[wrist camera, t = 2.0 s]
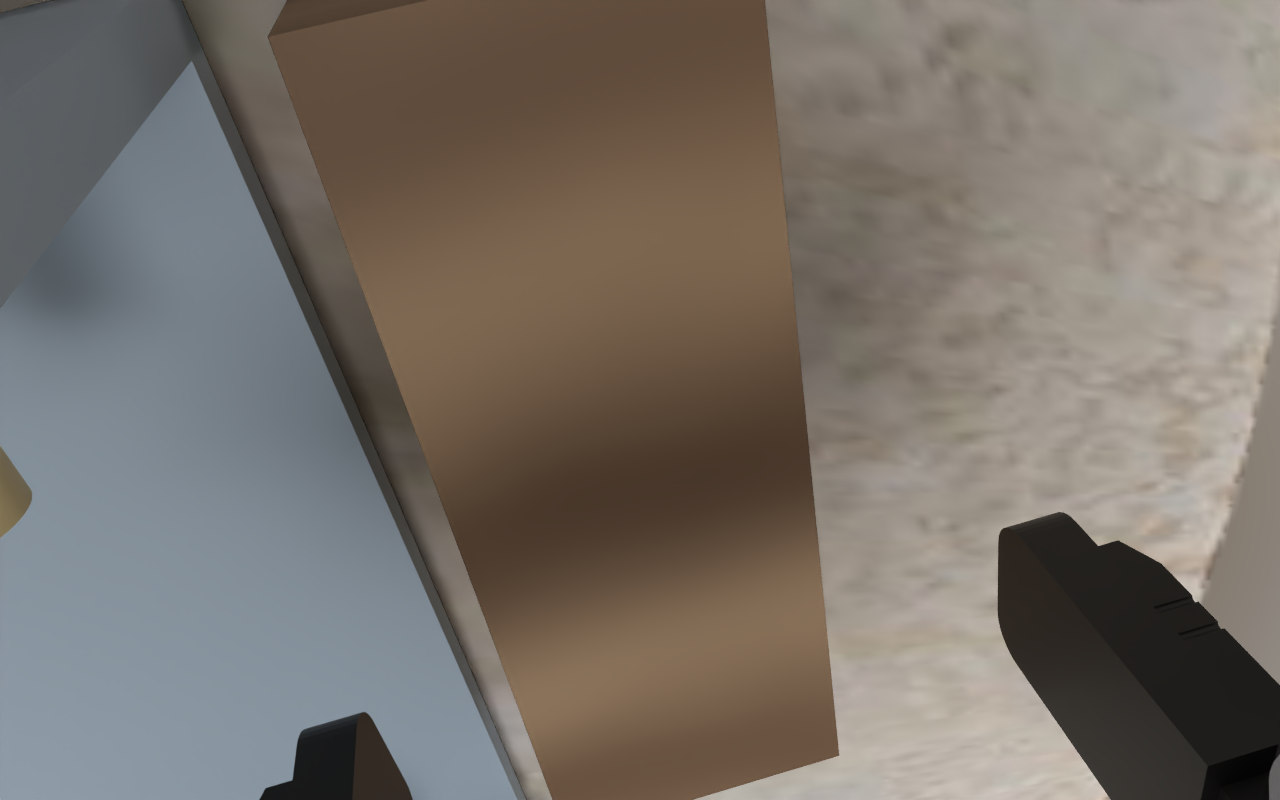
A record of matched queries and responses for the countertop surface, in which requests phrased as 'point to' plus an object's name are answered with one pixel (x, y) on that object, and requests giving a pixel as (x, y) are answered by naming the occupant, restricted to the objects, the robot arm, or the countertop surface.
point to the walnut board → (593, 359)
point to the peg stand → (186, 456)
